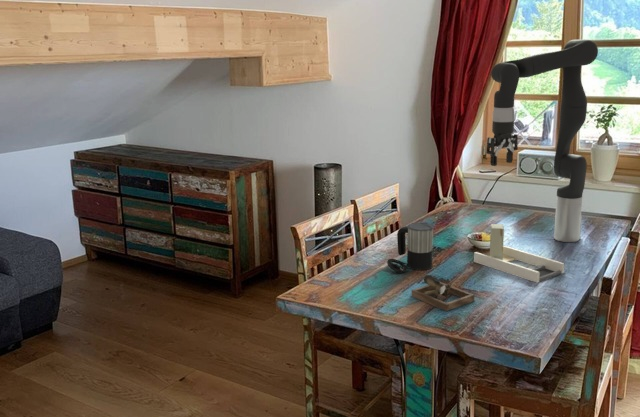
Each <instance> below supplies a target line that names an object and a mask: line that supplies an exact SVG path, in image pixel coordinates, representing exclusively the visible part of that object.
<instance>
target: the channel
mask: <svg viewBox="0 0 640 417" xmlns="http://www.w3.org/2000/svg"><path fill="white" fill-rule="evenodd" d="M503 255H504V256H507V257H511V258H514V259H515V260H516V261H520V262H522V263H525V264H529V265H532V266H536V267H540V266H543V265H544V266H545V269H549V270H552V271H558V270H560V271H561V274H560V275H562V274H564V272H565V270H564V269H565V263H564V262H561V261H557V260H555V259H552V258H548V257H544V256H542V255H538V254H533V253H531V252H527V251H523V250H520V249H517V248H513V247H510V246H506V245H504V244H503ZM515 260H514V261H515ZM473 262H474V263H475V264H476V263H477V264H480V265H482V266H485V267H489V268H491V269H494V270H497V271H500V272H504V273H507V274H509V275H513V276H515V277H519V278H522V279H525V280H528V281H531V282H534V283H540V282H539V275H540V272H538V271H535V270H532V269H533V268H532V269H531V268H528V267H526V266H522V265H519V264H516V263H512V262H511V261H510V262H507V261H503V260H500V259H497V258H494V257H491V256H490V255H487V254H484V253H481V252H479V251H475V252H473Z"/></svg>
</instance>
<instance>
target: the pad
mask: <svg viewBox="0 0 640 417" xmlns="http://www.w3.org/2000/svg"><path fill="white" fill-rule="evenodd" d="M503 261H507V262H510V263H511V262H513V261H515V259H514V258H511V257H507V256H504V255H503Z"/></svg>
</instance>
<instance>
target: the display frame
mask: <svg viewBox="0 0 640 417" xmlns="http://www.w3.org/2000/svg"><path fill="white" fill-rule="evenodd" d="M439 282H440V284H441V287H442V286H444V285H445V288H446V289H447V284H448V283H444V282H442V281H439ZM431 290H435V288H433V287H430V286H429V285H428V284H426V285H424V286H421V287H418V288H415V289H412V290H411V297H413V298H415V299H417V300H420V301H422V302H424V303H425V304H426V303H427V304H429V305H431V306H433V307H436V308H438V309H440V310H443V311H446V312H448V311H450V310H453V309H456V308H459V307H462V306H465V305H467V304H470V303H472V302H475V294H473V293H471V292H468V291H465V290H463V289H460V288H458V287H455V286H453V285H451V288H450V290H449V293H448V294H451V295H454V296H455V297H459V298H456V299H454V300H451V301H448V302H445V301H443V300H441V299H438V298H436V297H431V296H429V295H426V294H424V293H425V292H427V291H431Z"/></svg>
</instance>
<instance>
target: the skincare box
mask: <svg viewBox="0 0 640 417" xmlns="http://www.w3.org/2000/svg"><path fill="white" fill-rule="evenodd" d="M489 232H490V235H489V236H490V237H489V239H490V240H489V241H490V243H489V256H491V257H494V258H497V259H500V260H503V245H504V240H505V238H504V236H505V235H504V234H505V227H504V224H500V223H496V224H495V223H491V224H490V231H489Z"/></svg>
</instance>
